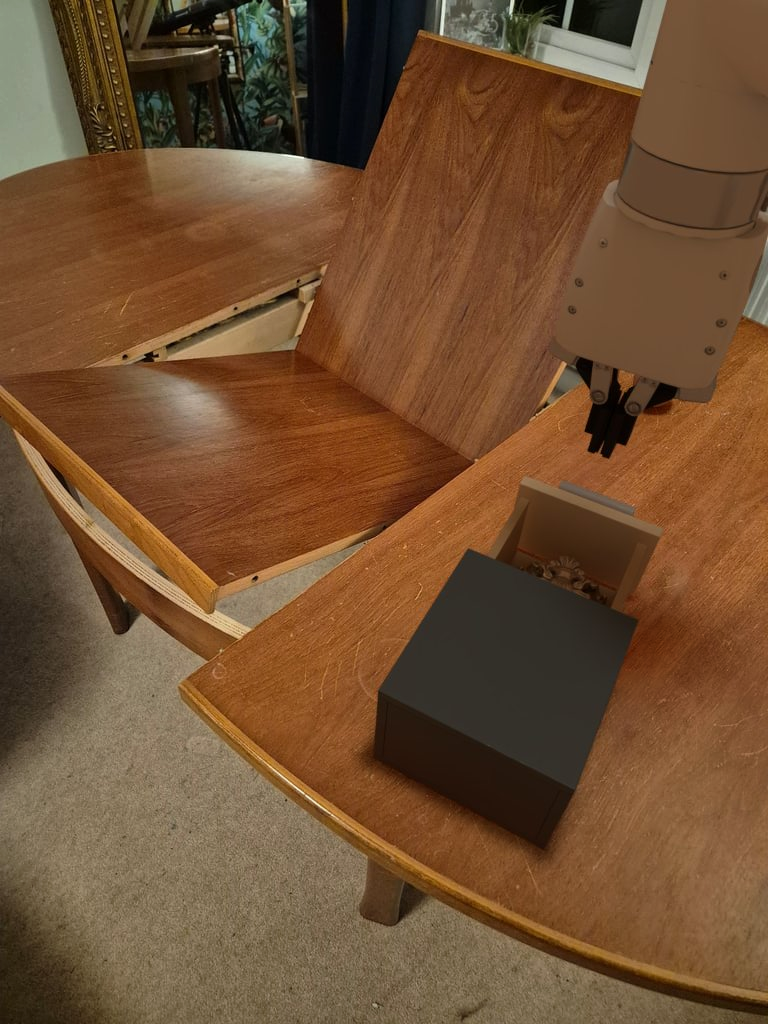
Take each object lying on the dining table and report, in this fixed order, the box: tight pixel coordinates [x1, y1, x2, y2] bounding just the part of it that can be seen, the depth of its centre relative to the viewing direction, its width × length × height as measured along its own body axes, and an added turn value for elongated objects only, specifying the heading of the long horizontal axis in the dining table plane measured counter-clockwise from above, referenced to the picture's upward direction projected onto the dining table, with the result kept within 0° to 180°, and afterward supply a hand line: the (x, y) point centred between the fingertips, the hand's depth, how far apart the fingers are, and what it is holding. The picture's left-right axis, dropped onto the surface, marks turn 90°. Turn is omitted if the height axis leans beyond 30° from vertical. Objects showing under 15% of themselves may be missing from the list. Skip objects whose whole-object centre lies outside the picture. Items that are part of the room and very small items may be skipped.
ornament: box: [518, 555, 607, 605], centre depth 63 cm, size 8×7×4 cm
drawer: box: [485, 475, 664, 613], centre depth 63 cm, size 18×12×8 cm
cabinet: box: [372, 547, 639, 850], centre depth 55 cm, size 15×14×10 cm
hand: (603, 444), depth 53 cm, fingers closed
